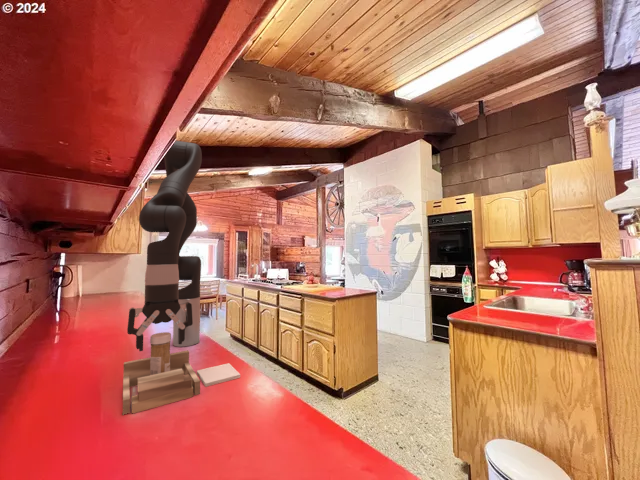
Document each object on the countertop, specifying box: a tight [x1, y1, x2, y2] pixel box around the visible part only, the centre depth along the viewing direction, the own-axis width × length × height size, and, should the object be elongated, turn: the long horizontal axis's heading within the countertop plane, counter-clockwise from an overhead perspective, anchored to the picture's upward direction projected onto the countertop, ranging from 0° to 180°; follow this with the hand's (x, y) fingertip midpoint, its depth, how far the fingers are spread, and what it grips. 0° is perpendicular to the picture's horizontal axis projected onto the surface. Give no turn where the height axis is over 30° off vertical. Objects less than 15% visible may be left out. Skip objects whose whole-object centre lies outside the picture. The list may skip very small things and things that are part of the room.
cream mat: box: [196, 362, 241, 388], centre depth 77 cm, size 10×9×1 cm
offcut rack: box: [122, 349, 201, 416], centre depth 69 cm, size 16×15×6 cm
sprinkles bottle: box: [149, 331, 172, 375], centre depth 70 cm, size 5×5×14 cm
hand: (160, 346), depth 70 cm, fingers open, 8 cm apart
